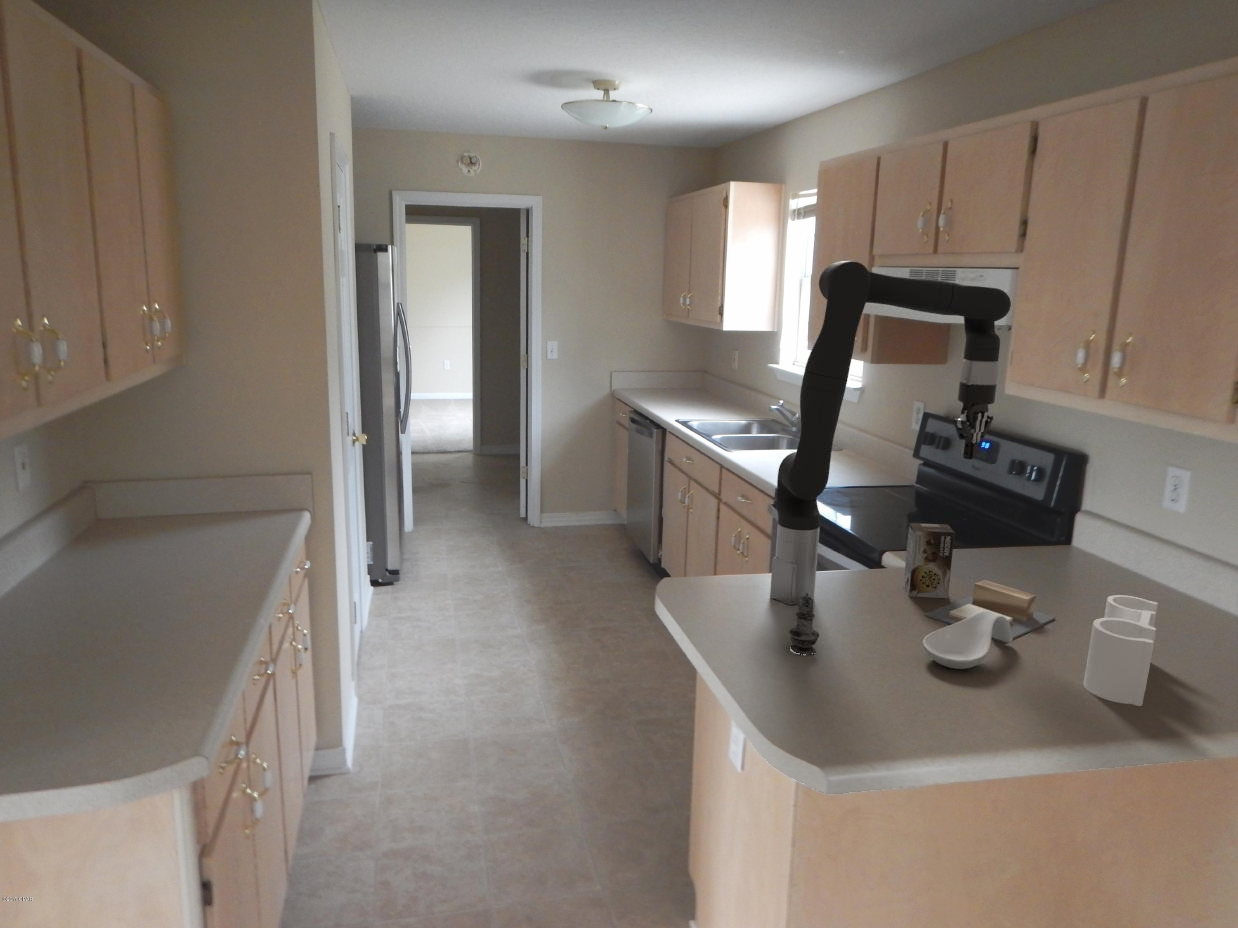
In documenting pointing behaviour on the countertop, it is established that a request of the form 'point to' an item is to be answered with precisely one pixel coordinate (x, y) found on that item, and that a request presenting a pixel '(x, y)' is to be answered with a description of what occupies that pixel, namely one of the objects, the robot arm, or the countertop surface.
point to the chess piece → (804, 628)
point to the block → (1004, 600)
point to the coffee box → (928, 560)
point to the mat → (1016, 625)
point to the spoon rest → (967, 640)
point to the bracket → (1121, 650)
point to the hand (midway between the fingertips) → (969, 458)
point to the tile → (971, 612)
